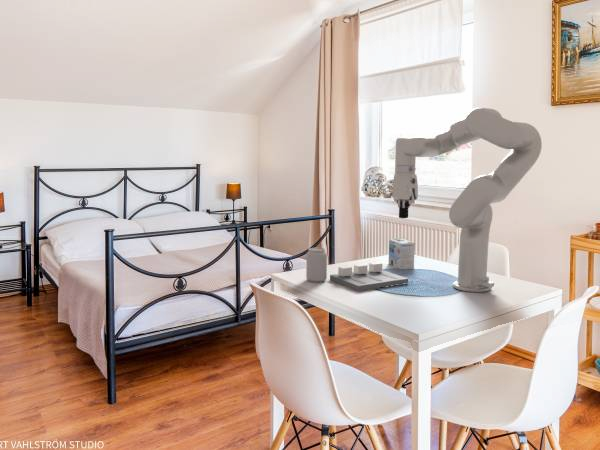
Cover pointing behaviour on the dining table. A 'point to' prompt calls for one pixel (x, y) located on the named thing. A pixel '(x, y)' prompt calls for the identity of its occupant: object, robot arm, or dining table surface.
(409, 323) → the dining table surface
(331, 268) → the dining table surface
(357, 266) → the handle
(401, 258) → the light bulb box
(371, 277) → the breaker panel
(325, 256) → the can
